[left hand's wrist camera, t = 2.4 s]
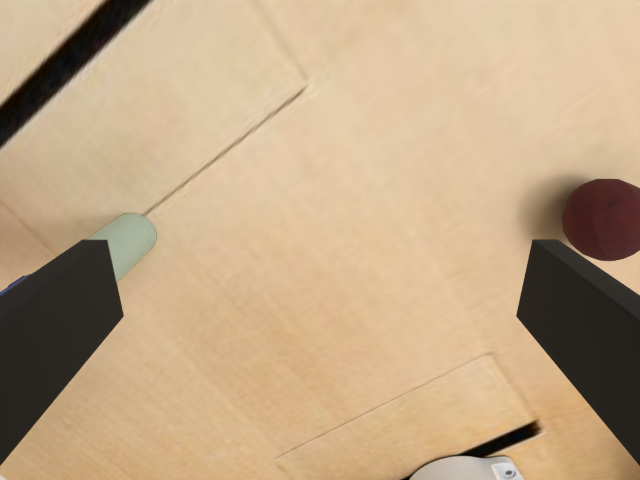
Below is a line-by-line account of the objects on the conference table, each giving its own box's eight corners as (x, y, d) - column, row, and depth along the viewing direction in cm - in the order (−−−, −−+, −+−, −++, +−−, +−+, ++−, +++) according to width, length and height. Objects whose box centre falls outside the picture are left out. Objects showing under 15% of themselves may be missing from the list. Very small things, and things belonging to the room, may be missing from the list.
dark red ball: (563, 254, 43) (607, 286, 36) (535, 196, 40) (576, 219, 34) (631, 218, 41) (690, 244, 35) (606, 155, 39) (665, 171, 32)
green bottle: (120, 254, 43) (15, 346, 28) (107, 214, 41) (-11, 290, 27) (161, 250, 43) (78, 341, 28) (150, 210, 41) (55, 284, 26)
